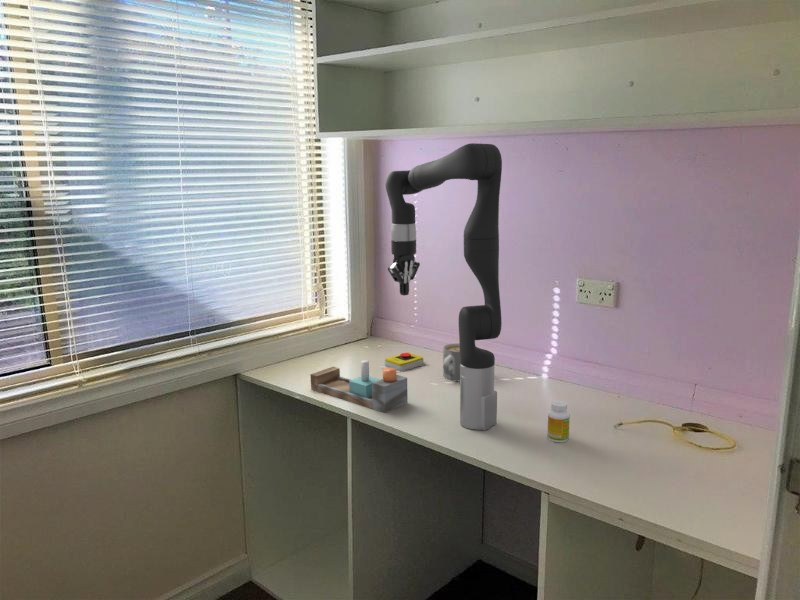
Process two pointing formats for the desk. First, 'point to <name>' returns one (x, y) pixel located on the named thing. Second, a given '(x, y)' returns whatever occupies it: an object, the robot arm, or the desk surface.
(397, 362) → the emergency button
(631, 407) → the desk surface
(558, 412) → the supplement bottle
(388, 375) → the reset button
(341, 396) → the rail
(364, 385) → the carriage
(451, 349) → the coffee mug
